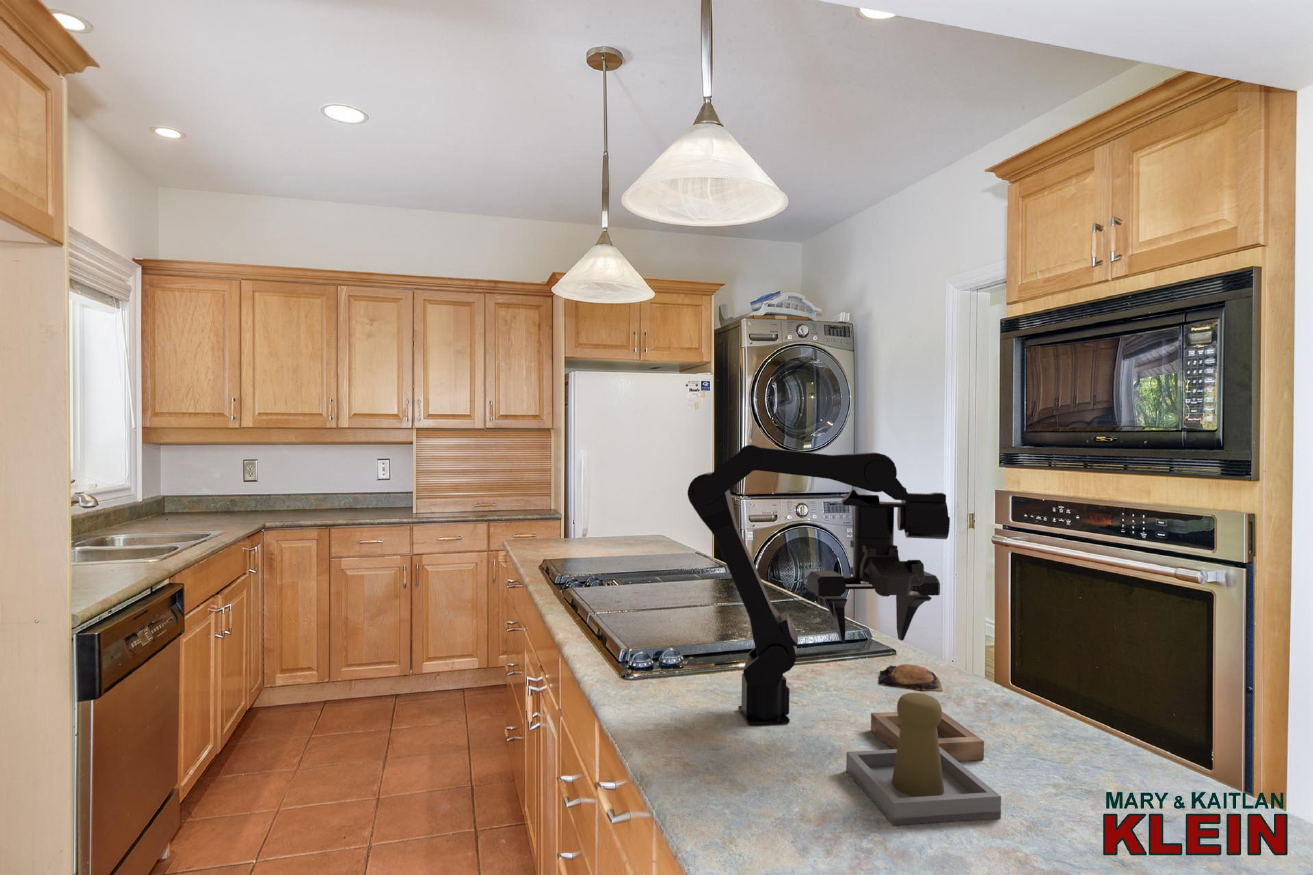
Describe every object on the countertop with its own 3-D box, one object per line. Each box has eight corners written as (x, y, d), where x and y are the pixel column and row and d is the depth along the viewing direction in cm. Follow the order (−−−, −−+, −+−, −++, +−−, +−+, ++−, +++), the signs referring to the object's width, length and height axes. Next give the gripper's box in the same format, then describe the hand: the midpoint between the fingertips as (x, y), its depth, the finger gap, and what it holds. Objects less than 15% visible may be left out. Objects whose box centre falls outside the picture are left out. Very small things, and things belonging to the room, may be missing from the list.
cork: (949, 800, 83) (951, 707, 83) (895, 795, 84) (897, 703, 84) (938, 776, 89) (940, 689, 89) (888, 771, 90) (890, 685, 90)
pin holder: (907, 763, 95) (907, 744, 95) (870, 729, 105) (871, 712, 105) (983, 759, 96) (984, 741, 96) (939, 726, 107) (940, 709, 107)
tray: (893, 825, 79) (894, 802, 79) (846, 770, 92) (846, 751, 92) (1000, 817, 81) (1001, 796, 81) (939, 765, 94) (939, 746, 94)
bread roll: (939, 681, 129) (939, 660, 129) (943, 696, 121) (944, 675, 121) (877, 674, 132) (878, 654, 132) (878, 689, 124) (878, 667, 124)
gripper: (833, 544, 97) (831, 658, 97) (961, 544, 100) (959, 655, 100) (806, 533, 108) (804, 635, 108) (922, 533, 111) (920, 633, 111)
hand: (871, 640), depth 107 cm, fingers open, 9 cm apart
